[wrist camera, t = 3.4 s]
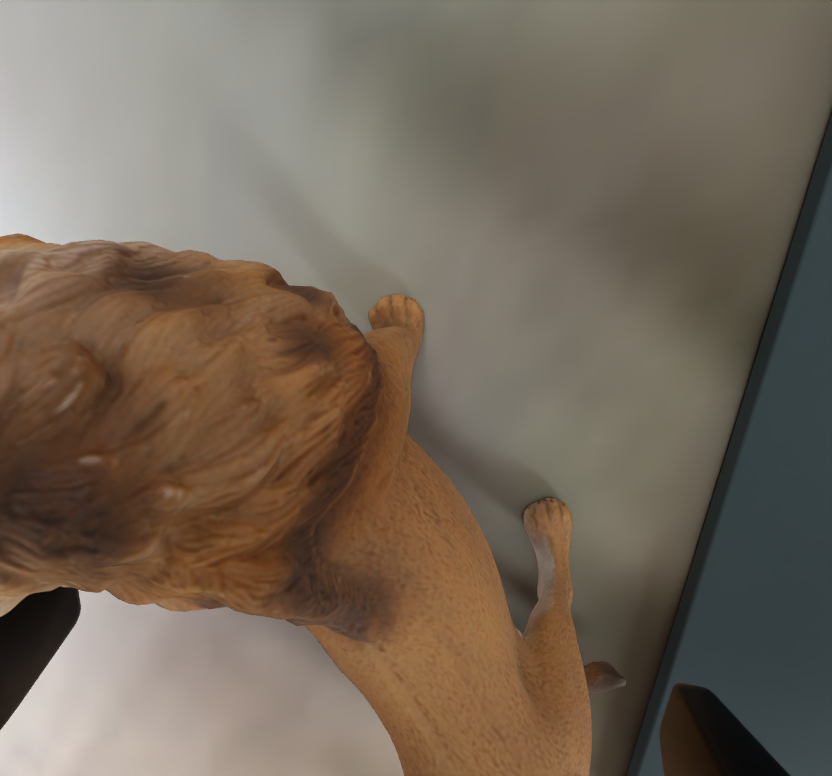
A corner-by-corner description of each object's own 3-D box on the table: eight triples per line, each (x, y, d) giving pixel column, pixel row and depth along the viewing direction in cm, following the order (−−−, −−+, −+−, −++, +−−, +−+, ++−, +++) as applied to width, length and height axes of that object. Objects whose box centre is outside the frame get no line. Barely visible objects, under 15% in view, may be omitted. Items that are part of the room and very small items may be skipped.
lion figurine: (158, 317, 13) (-469, 518, 5) (297, 153, 11) (-314, 3, 3) (542, 702, 15) (585, 1333, 7) (712, 615, 13) (1064, 1323, 5)
